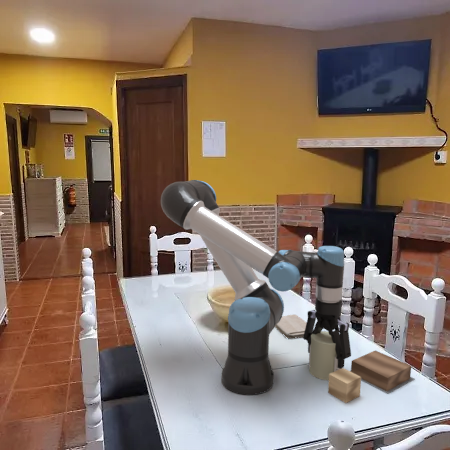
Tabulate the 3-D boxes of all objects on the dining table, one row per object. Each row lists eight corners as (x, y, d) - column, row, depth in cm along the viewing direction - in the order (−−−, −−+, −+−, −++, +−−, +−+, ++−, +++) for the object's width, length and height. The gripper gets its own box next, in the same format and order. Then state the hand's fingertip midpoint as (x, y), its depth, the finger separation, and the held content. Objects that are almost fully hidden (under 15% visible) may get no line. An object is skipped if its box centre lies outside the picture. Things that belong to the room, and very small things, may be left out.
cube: (345, 404, 108) (347, 383, 107) (327, 394, 112) (329, 374, 111) (359, 397, 111) (361, 377, 110) (341, 387, 116) (343, 367, 115)
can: (341, 383, 118) (343, 344, 116) (309, 379, 120) (311, 340, 118) (339, 367, 127) (341, 331, 125) (309, 364, 129) (310, 328, 127)
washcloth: (288, 341, 146) (288, 333, 146) (267, 322, 163) (267, 315, 163) (316, 337, 150) (317, 329, 150) (293, 319, 167) (294, 312, 166)
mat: (387, 395, 112) (387, 394, 112) (345, 373, 123) (345, 372, 123) (415, 380, 120) (415, 378, 120) (373, 361, 131) (373, 360, 131)
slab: (386, 391, 113) (387, 378, 113) (350, 373, 123) (351, 360, 122) (410, 378, 120) (411, 365, 120) (374, 362, 130) (375, 350, 129)
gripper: (368, 307, 113) (362, 382, 117) (309, 287, 131) (306, 353, 134) (351, 312, 109) (346, 390, 112) (293, 291, 126) (290, 359, 130)
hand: (324, 370), depth 123 cm, fingers closed on can, 9 cm apart
